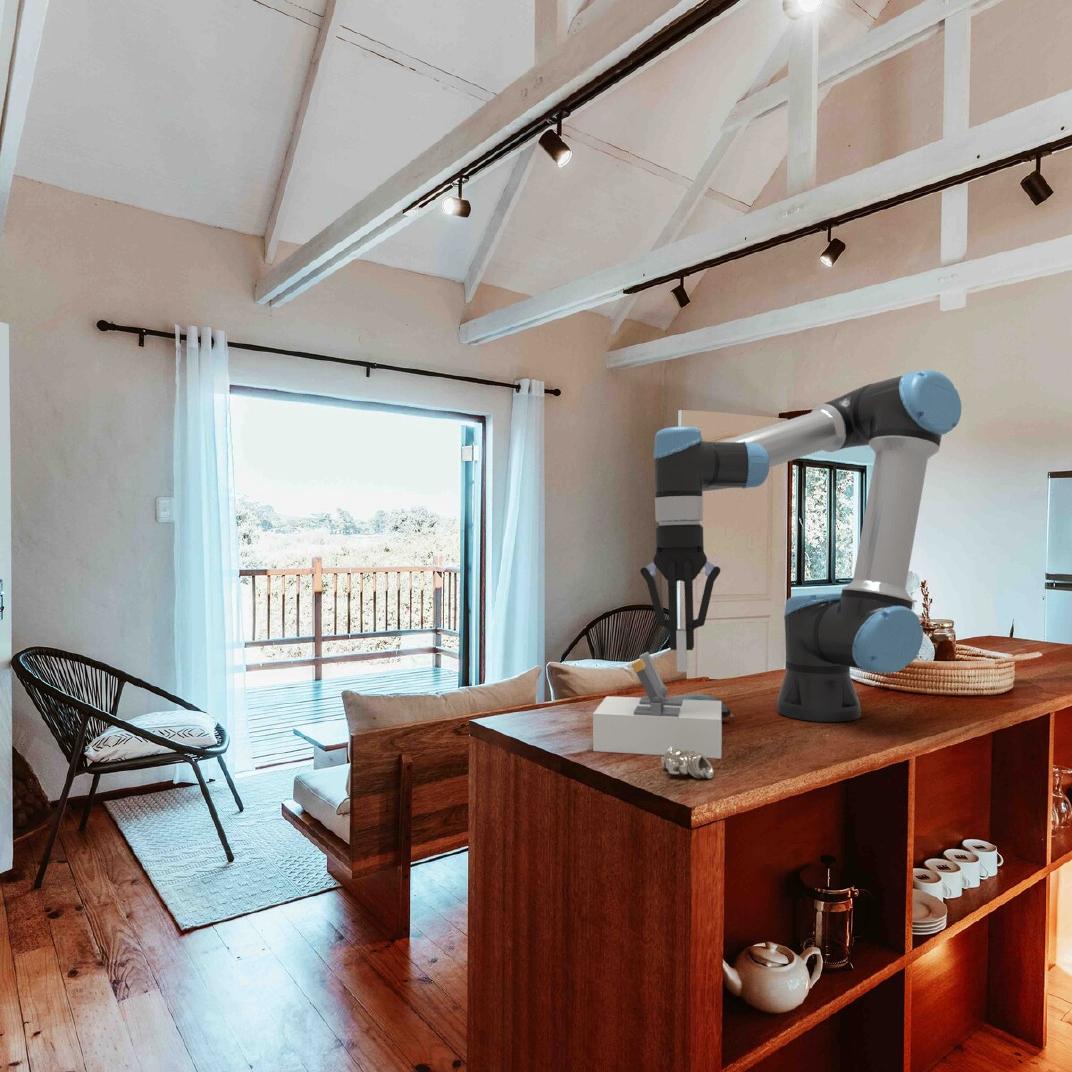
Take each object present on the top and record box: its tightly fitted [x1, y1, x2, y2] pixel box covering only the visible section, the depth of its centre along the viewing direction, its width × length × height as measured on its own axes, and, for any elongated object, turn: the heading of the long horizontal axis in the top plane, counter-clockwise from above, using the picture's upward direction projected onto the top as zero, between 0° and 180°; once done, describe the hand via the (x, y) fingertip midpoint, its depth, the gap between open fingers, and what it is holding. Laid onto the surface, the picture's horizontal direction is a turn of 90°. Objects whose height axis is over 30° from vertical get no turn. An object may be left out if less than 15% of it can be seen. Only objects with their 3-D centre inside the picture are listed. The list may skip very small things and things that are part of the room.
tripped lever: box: [630, 658, 664, 707], centre depth 121 cm, size 2×3×8 cm
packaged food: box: [672, 693, 734, 721], centre depth 140 cm, size 9×12×5 cm
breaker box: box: [592, 651, 723, 760], centre depth 124 cm, size 20×14×14 cm
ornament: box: [660, 747, 715, 780], centre depth 107 cm, size 8×7×4 cm
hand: (682, 670), depth 120 cm, fingers closed
